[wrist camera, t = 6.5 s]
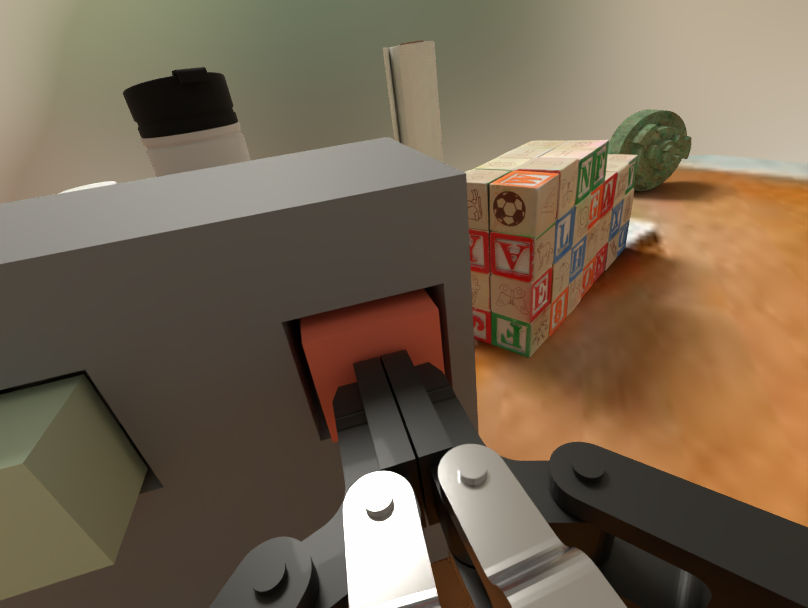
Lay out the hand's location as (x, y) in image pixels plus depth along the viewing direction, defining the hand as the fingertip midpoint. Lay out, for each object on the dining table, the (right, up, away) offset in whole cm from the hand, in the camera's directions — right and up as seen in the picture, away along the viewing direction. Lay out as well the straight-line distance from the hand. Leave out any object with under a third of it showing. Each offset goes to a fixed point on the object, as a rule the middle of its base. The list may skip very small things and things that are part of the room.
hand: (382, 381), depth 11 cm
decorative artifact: (+34, +17, +43) cm, 58 cm away
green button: (-8, -4, -1) cm, 9 cm away
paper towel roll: (+4, +18, +53) cm, 56 cm away
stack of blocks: (+14, +4, +25) cm, 29 cm away
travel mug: (-12, -1, +24) cm, 27 cm away
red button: (0, -1, +2) cm, 2 cm away
